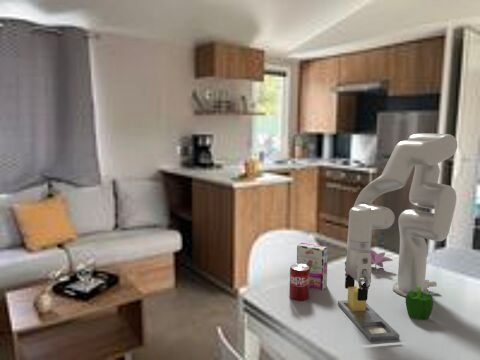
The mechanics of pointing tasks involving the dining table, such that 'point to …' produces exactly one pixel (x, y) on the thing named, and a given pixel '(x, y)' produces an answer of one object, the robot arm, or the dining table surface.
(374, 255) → the lily
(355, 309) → the yellow block
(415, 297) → the bell pepper
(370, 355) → the dining table surface
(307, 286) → the soda can
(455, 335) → the dining table surface
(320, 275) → the candy bar box
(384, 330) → the gray recessed board
